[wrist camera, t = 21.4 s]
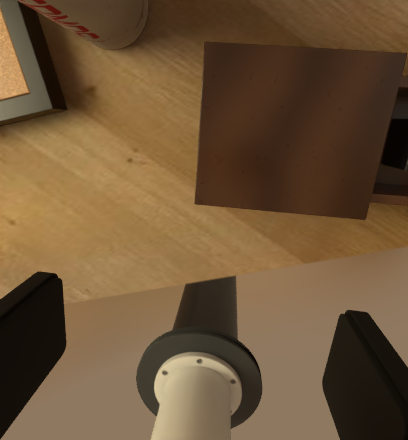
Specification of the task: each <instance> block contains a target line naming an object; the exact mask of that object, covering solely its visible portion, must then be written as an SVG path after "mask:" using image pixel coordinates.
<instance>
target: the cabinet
mask: <svg viewBox="0 0 408 440" xmlns="http://www.w3.org/2000/svg"><path fill="white" fill-rule="evenodd" d="M406 57H407V53H396V52H378V51H361V50H343V49H326V48H308V47H291V46H273V45H256V44H238V43H221V42H205V45H204V61H203V77H202V93H201V109H200V125H199V141H198V158H197V174H196V190H195V204H198V205H209V206H220V207H231V208H241V209H252V210H263V211H274V212H285V213H296V214H307V215H318V216H329V217H340V218H351V219H362V220H365V219H366V216H367V212H368V208H369V204H370V200H371V196H372V192H373V188H374V184H375V180H376V176H377V172H378V168H379V164H380V160H381V156H382V152H383V148H384V144H385V140H386V136H387V132H388V128H389V124H390V120H391V116H392V112H393V108H394V104H395V100H396V96H397V92H398V88H399V84H400V80H401V76H402V72H403V69H404V65H405V61H406Z"/></svg>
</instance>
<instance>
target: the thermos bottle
mask: <svg viewBox="0 0 408 440" xmlns="http://www.w3.org/2000/svg"><path fill="white" fill-rule="evenodd" d="M17 1H19V2H21V3H23V4H25V5H26V6H28V7H30V8H32V9H33V10H35V11H37V12H38V13H40V14H42V15H43V16H45V17H47V18H49V19H50V20H52V21H54V22H56V23H57V24H59V25H61V26H63V27H64V28H66V29H68V30H70V31H71V32H73V33H75V34H77V35H79V36H80V37H82V38H84V39H86V40H87V41H89V42H91V43H93V44H94V45H96V46H98V47H101V48H104V49H110V50H115V49H121V48H124V47H126V46H128V45H130V44H131V43H132V42H134V41H135V40H136V39H137V38H138V37H139V35H140V34H141V32H142V30H143V29H144V26H145V23H146V21H147V16H148V0H17Z"/></svg>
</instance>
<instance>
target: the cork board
mask: <svg viewBox="0 0 408 440" xmlns="http://www.w3.org/2000/svg"><path fill="white" fill-rule="evenodd" d="M65 110H67V107H66V104H65V101H64V97H63V94H62V91H61V88H60V85H59V82H58V78H57V75H56V72H55V69H54V66H53V63H52V60H51V56H50V53H49V50H48V47H47V44H46V41H45V37H44V34H43V31H42V28H41V25H40V22H39V19H38V15H37V12H36V11H35V10H33V9H32V8H30V7H28V6H26V5H25V4H23V3H21V2H19V1H17V0H0V126H2V125H6V124H11V123H15V122H19V121H23V120H27V119H31V118H36V117H40V116H44V115H48V114H52V113H56V112H61V111H65Z"/></svg>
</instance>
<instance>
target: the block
mask: <svg viewBox="0 0 408 440" xmlns="http://www.w3.org/2000/svg"><path fill="white" fill-rule="evenodd" d="M382 164H383V165H386V166H390V167H394V168H397V169H401V170H404V171H408V119H393V121H392V125H391V129H390V133H389V137H388V141H387V144H386V148H385V152H384V156H383V160H382Z"/></svg>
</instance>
